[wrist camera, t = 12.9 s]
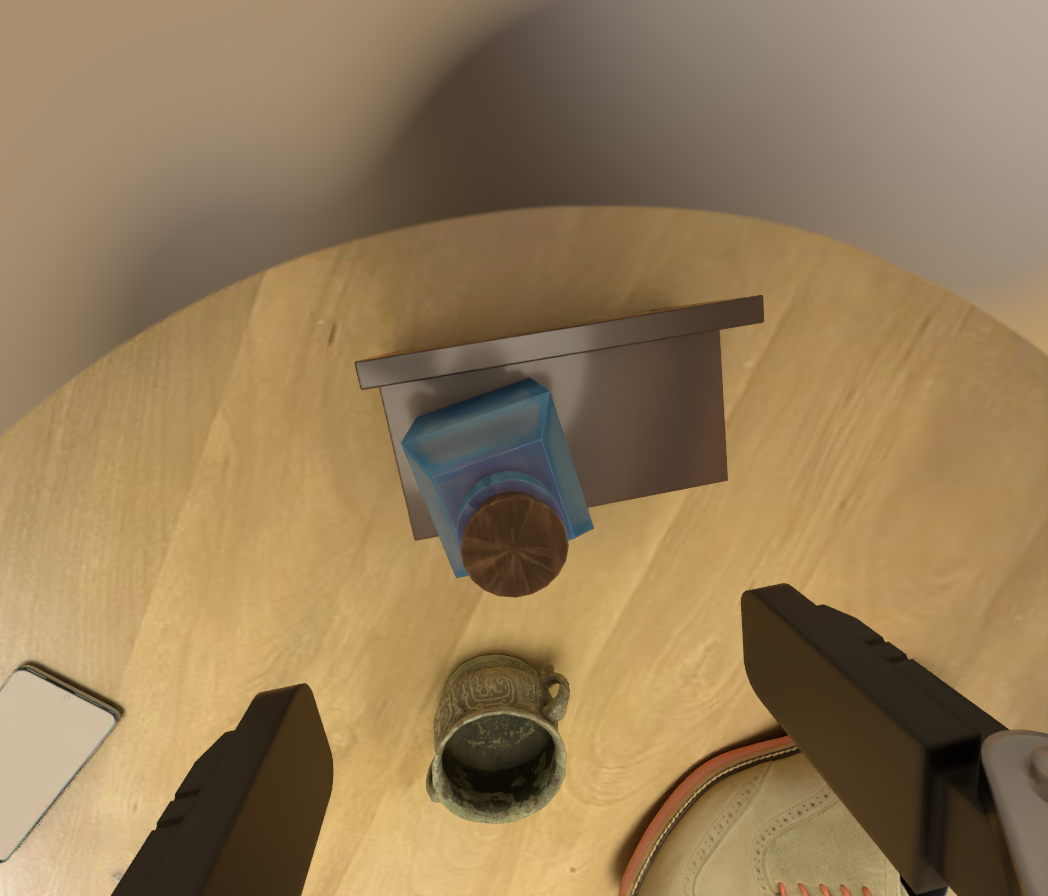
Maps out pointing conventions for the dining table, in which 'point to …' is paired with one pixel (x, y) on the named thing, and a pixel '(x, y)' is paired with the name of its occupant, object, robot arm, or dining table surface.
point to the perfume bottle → (500, 487)
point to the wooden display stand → (588, 395)
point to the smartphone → (42, 746)
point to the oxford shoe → (759, 835)
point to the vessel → (498, 740)
